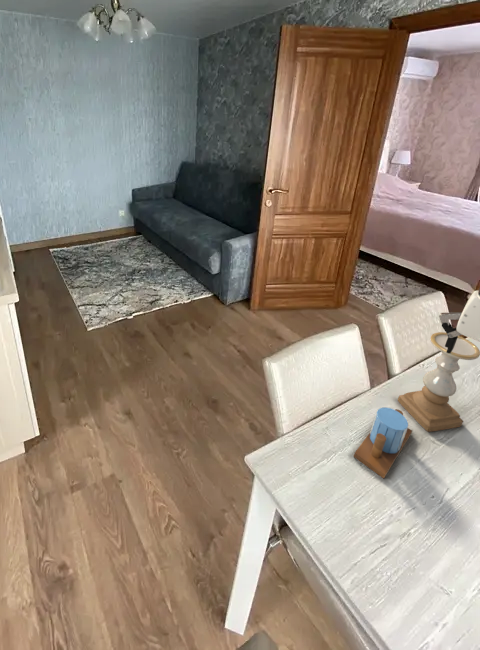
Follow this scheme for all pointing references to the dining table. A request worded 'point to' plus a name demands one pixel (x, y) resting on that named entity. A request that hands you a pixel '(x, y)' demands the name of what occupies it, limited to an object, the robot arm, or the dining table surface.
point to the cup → (389, 429)
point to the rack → (378, 453)
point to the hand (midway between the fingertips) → (475, 361)
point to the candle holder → (439, 386)
